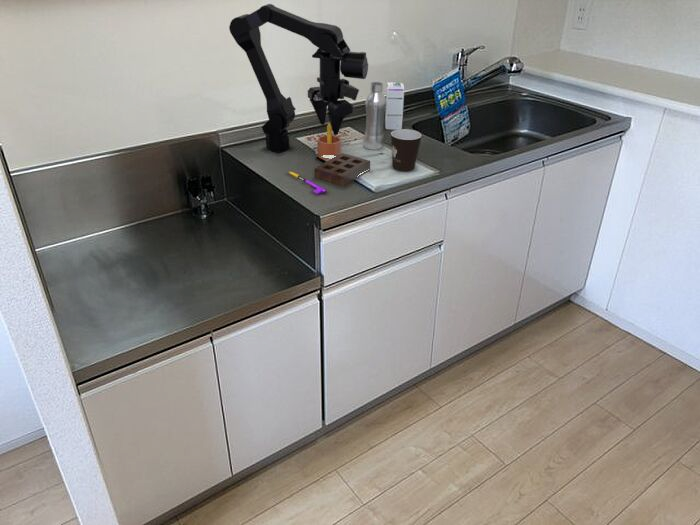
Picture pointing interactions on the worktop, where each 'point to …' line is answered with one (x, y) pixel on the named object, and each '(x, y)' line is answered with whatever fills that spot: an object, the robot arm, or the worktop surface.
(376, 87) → the silver metal bottle
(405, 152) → the coffee mug
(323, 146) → the pen pot
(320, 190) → the purple long piece
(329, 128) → the pencil
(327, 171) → the pencil block
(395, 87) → the syrup box
